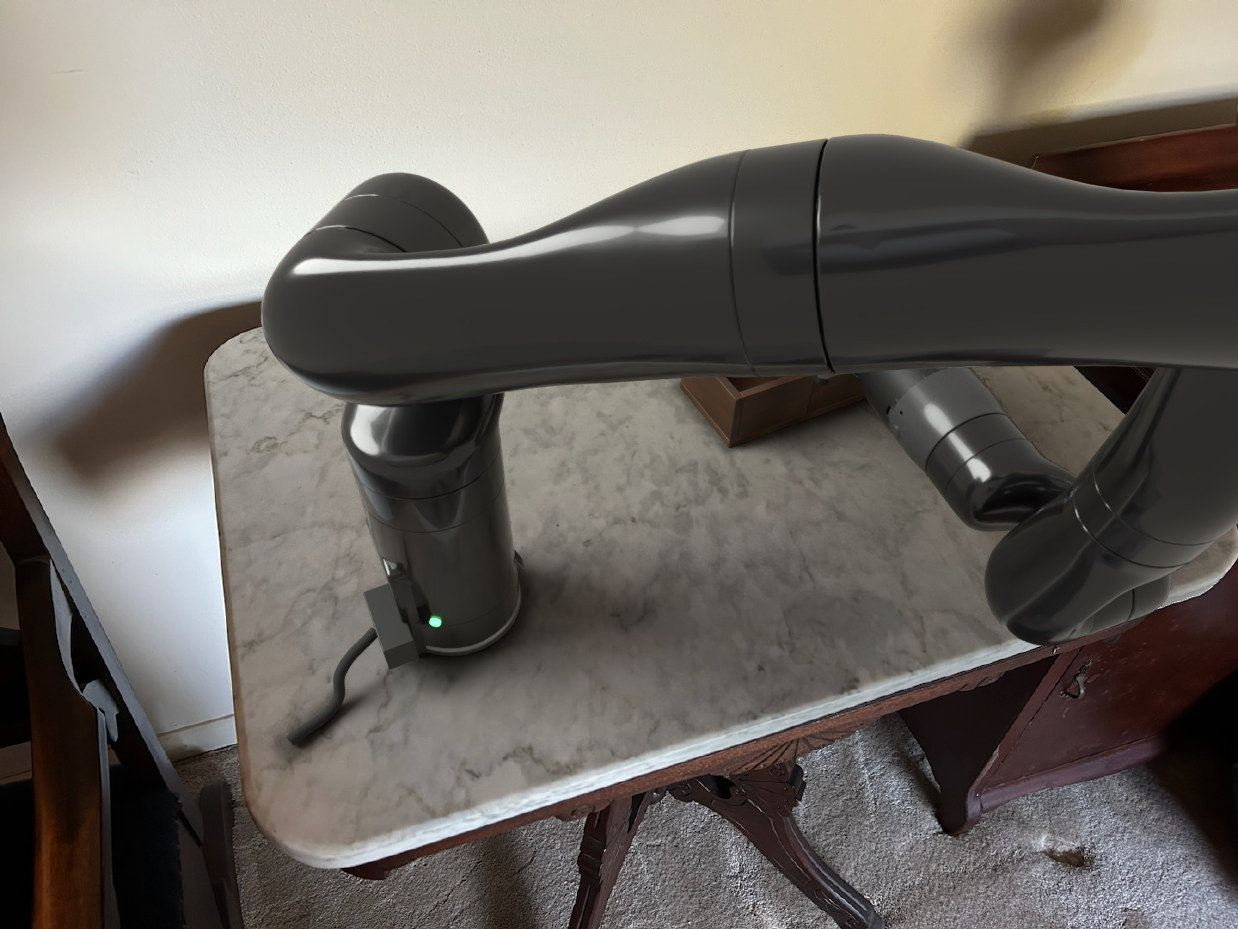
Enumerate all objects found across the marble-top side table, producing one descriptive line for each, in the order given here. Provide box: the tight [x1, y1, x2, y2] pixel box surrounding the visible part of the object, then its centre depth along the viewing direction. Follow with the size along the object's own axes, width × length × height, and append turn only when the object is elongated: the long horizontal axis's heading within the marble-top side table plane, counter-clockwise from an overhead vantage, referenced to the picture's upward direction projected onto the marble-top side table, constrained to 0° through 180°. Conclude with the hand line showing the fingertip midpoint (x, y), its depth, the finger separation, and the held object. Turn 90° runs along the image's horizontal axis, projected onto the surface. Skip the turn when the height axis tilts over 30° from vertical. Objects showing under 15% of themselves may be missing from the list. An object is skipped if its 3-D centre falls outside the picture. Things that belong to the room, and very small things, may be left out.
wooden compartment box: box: [679, 374, 867, 448], centre depth 80 cm, size 17×9×6 cm, turn 116°
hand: (839, 288), depth 75 cm, fingers open, 8 cm apart
